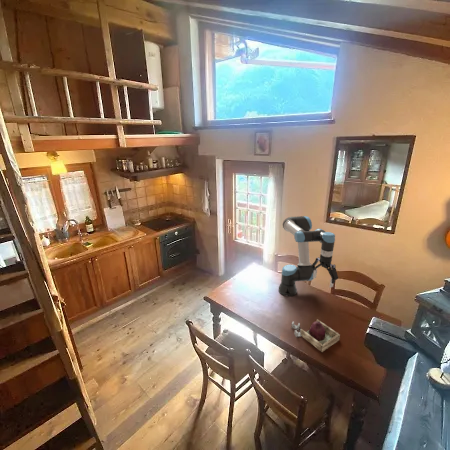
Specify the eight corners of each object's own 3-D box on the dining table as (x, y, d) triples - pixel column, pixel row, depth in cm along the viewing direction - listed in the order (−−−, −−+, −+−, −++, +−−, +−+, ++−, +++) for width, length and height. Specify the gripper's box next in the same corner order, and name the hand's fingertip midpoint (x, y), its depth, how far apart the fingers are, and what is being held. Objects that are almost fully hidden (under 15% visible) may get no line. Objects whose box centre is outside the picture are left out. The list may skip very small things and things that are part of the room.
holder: (300, 334, 166) (300, 329, 164) (316, 324, 175) (317, 319, 173) (322, 352, 152) (322, 346, 151) (339, 340, 161) (340, 334, 160)
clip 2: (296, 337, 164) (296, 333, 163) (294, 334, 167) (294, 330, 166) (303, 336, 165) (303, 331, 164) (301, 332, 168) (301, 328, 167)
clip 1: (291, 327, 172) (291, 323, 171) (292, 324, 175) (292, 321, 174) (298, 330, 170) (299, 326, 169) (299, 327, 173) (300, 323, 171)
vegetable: (322, 346, 160) (326, 333, 151) (306, 338, 165) (309, 325, 156) (326, 333, 167) (331, 320, 158) (311, 325, 172) (314, 313, 163)
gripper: (307, 249, 174) (304, 275, 181) (340, 264, 154) (335, 292, 162) (314, 247, 178) (311, 272, 185) (347, 260, 158) (342, 288, 166)
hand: (322, 282), depth 174 cm, fingers open, 13 cm apart
